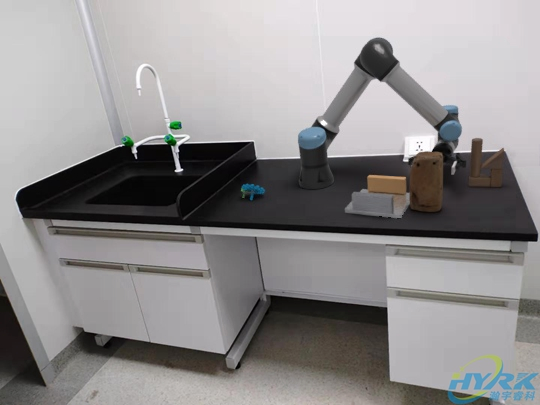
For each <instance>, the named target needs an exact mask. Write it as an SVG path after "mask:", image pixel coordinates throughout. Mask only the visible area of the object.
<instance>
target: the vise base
mask: <svg viewBox="0 0 540 405" xmlns="http://www.w3.org/2000/svg"><path fill="white" fill-rule="evenodd" d="M409 194H410V193H409V192H406V193H405V194H397V193H385V192H373V191H368V188H367V189H366V188H362V189H361V190H360V191H353V192H352V193H351V201H350V202H348V203H349V204H347V205H346V206H345V208H344V213H345V214H352V215H353V214H354V215H363V216H371V217H379V216H382V218H388V217H391V218H390V219H397V218H401V219H402V217H403V216H404V214H405V213H406V211H407V209H408V207H409V206H410V199H409ZM404 212H405V213H404ZM402 215H403V216H402Z"/></svg>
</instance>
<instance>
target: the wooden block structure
mask: <svg viewBox="0 0 540 405" xmlns="http://www.w3.org/2000/svg"><path fill="white" fill-rule="evenodd" d="M483 141H484V139H483V138H481V137H475V138H472V139H471V149H470V165H469V168H470V169H469V175H468V187H479V188H480V187H486V188H487V187H488V188H489V187H491V188H501V187H502V183H503V182H502V181H503V169H504V158H505V149H504V148H505V147H502V148H501V149H499V150H498V151H497V152H496V153H495V154H493V155H492V156H490V157H489V158H488V159H487V160H486V161H484V162H483V163H482V159H483V158H482V157H483ZM481 170H490V174H489V175H486V174H482V172H481Z"/></svg>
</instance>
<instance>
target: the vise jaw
mask: <svg viewBox="0 0 540 405" xmlns="http://www.w3.org/2000/svg"><path fill="white" fill-rule="evenodd" d="M366 178H367V179H366V180H367V189H368V191H373V192H385V193H397V194H405V193H407V177H406V176H392V175H391V176H390V175H376V174H374V175H373V174H369V175H368V176H367V177H366Z"/></svg>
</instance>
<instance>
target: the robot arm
mask: <svg viewBox="0 0 540 405" xmlns="http://www.w3.org/2000/svg"><path fill="white" fill-rule="evenodd" d="M353 66H354V68H353V70H352V71H351V73H350V75H349V76H348V77H347V79H346V80H345V82H344V83H343V85H342V87H341V88H340V90H339V91H338V92H337V93H336V95H335V97H334V98H333V100H332V101H331V102H330V104H329V105H328V106H327V109H326V110H325V112H324V113H323V114H322V115H319V116H317V117H316V119H315V120H314V122H313V124H312V125H311V126H310V127H306V128H305V129H302V130H300V131H299V133H298V135H297V144H298V149H299V157H300V158H299V159H300V164H301V165H300V173H299V177H298V185H299V186H300V188H303V189H306V190H318V189H319V190H320V189H324V188H327V187H330V186H331V185H333V184H334V182H335V180H334V178H335V177H334V174H333V173H332V170H331V168H330V166H329V158H328V149H329V147H330V145H331V144H332V143H333V142H334V140H335V139H336V137H337V135H338V134H339V133H340V127H341V126H340V125H341V124H342V123H343V121H344V120H345V119H346V117H347V116H348V114H349V113H350V111H351V110H352V109H353V107H354V106H355V105H356V104H357V102H358V101H359V100H360V97H361V96H362V94H363V93H364V92H365V91H366V89H367V87H368V86H369V84H370V83H371V82H372V81H373V80H378V82H380V83H385V84H386V85H387V86H388V87H389V88H390V89H391V90H393V91H394V92H395V93H396V95H398V96H399V97H401V99H402V100H403V101H404V102H405V103H407V105H409V106H410V107H411V108H412V109H413V110H414V111H415V112H416V113H417V114H418V115H419V116H421V117H422V118H423V119H424V120H425V121H426V122H427V123H428V124H430V125H431V127H432V128H433V129H434V130H435V131H437V141H436V143H435V145H434V147H433V148H432V150H431V152H440V153H442V155H443V164H446V165H447V164H448V165H451V170H450V171H451V172H450V173H451V175H455V172H456V171H458V170H460V168H464V169H465V168H467V160H466V159H465V158H464V157H463V156H462V155H461V154H460V153H459V152H456V153H455V154H454V152H455V151H456V149H457V148H458V146H459V138H460V137H461V135H462V132H463V127H462V124H461V122H460V120H459V114H460V113H459V107H458V105H454V104H451V105H450V104H448V105H447V104H446V105H441V103H440V102H438V101H437V100H436V99H435V98H434V97H433V96H432V94H430V93H429V92H428V91H427V90H426V89H425V88H424V87H422V85H421V84H419V82H417V81H416V80H415V79H414V78H413V77H412V76H411V75H410V74H409V73H408V72H406V70H405V69H403V68H402V66H401V62H400V60H399V59H398V58H396V56H395V55H394V49H393V46H392V44H391V42H390V41H389V40H387V39H386V38H383V37H378V36H377V37H373V38H371V39H369V40H368V41H367V42H366V43H365V44H364V45H363V46H362V49H361V50H360V52H359V54H358V56H357V58H356V59H355V60H354V62H353ZM415 156H416V155H413V156H411V157H409V158H408V159H407V160H408V162H407V163H408V164H407V165H409V166H410V168H411V167H412V164H413V160H414V158H416V157H415Z"/></svg>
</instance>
